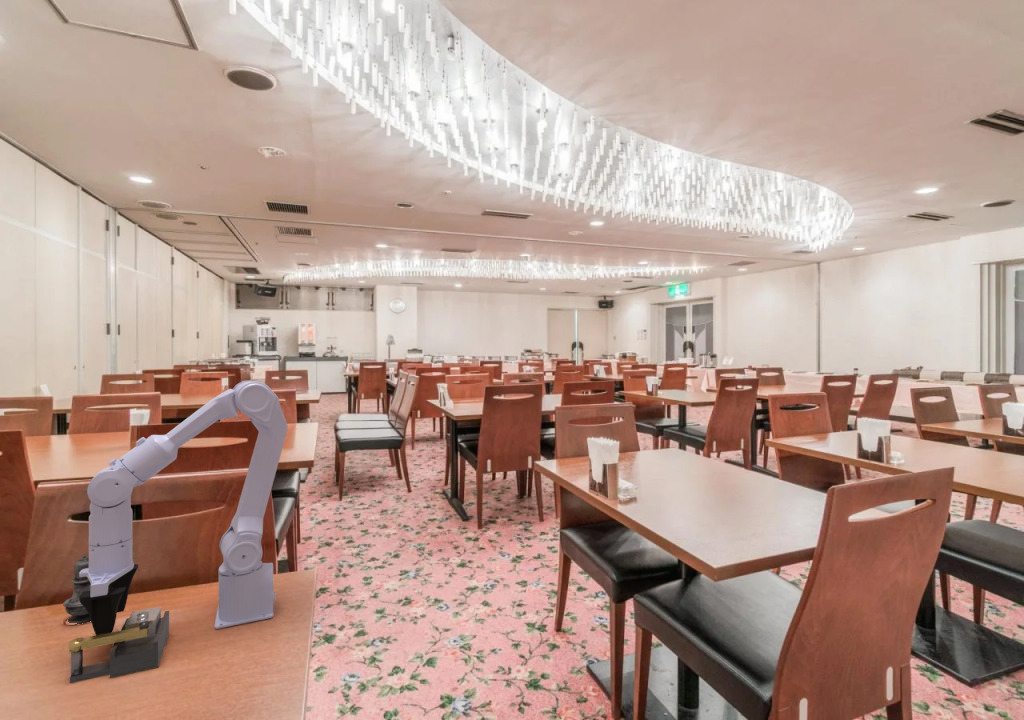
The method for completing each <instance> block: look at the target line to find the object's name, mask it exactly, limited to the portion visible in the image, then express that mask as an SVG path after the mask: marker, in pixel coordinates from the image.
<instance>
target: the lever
mask: <svg viewBox="0 0 1024 720" xmlns="http://www.w3.org/2000/svg"><path fill="white" fill-rule="evenodd" d="M148 633H149V621H143V622H141V623H140V624H139V627H137V628H132V629H127V630H122V631H121V630H117V631H112V632H111V633H106V634H101V635H96V634H95V635H90V636H86V637H77V638H73V639H72V640H70V641H69V642H68V652H69V653H71V652H76V651H79V650H82V649H83V650H86V649H91V648H96V647H101V646H106V645H107V646H108V645H113V644H114V643H117V642H122V641H127V640H132V639H137V638H142V637H147V636H148Z"/></svg>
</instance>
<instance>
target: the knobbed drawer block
mask: <svg viewBox="0 0 1024 720" xmlns="http://www.w3.org/2000/svg"><path fill="white" fill-rule="evenodd" d="M128 618H129V619H128V621H127V623H126V625H125V630H127V629H132V628H137V627H139V624H140V623H141V622H143V621H149V633H148V636H147V637H151V636H156V633H157V630H158V628H159V625H160V623H161V618H162V606H156V607H149V608H145V609H140V610H139V609H138V610H134V611H132V612H131V613H130V616H129V617H128ZM142 638H146V637H142ZM137 639H141V638H137ZM132 640H136V639H132ZM127 641H131V640H127ZM125 642H126V641H125Z"/></svg>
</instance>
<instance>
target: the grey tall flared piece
mask: <svg viewBox="0 0 1024 720" xmlns="http://www.w3.org/2000/svg"><path fill="white" fill-rule="evenodd" d="M73 567H74V570H73V571H74V574H73V577H74V578H73V579H72V580H71V583H72V584H73V592H72V595H71V597H70V598H68V599H66V600H65V601H64V602H63V603H62V606H63V607H64V609H65V611H66V613H67V614H68V615H70V616H69V619H68V618H67V619H68V622H69V623H77V624H82V623H86V622H89V623H91V622H90V621H91V619H90V616H89V614H88V612H87V610H86V609H85V607H84V606H83V605H82V604H81V603H80V600H79V596H80V595H81V593H82V592H84V591H90V589H91V583H90V581H89V579H88V577H79V573H80V571H81V570H83V569H86V568H89V557H88V555H86V554H85V553H83V554H82V555H81V559H78V560H77V561H76V562H75V563H74V566H73ZM86 624H87V623H86ZM82 625H83V624H82Z"/></svg>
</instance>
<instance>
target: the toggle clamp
mask: <svg viewBox="0 0 1024 720" xmlns="http://www.w3.org/2000/svg"><path fill="white" fill-rule="evenodd" d="M128 619H129V617H127V618H126V619H125V621H124V624H122V625H123V626H122V627H121V629H120V631H122V630H125V625H126V623H127V621H128ZM169 636H170V610H166V611H164V614H163V616H162V617H161V623H160V625H159V628H158V630H157V633H156V636H151V637H146V638H141V639H136V640H131V641H126V642H125V641H122V642H117V643H113V644H112V646H111V649H110V650H109V660H107V661H104V662H99V663H94V664H89V665H84V649H82V650H79V651H76V652H70V677H69V684H73V683H77V682H80V681H86V680H90V679H94V678H99V677H103V676H107V675H109V679H113V678H117V677H122V676H125V675H130V674H134V673H138V672H143V671H148V670H153V669H157V668H159V666H160V662H161V659H162V657H163V652H164V650H165V647H166V644H167V641H168V638H169Z"/></svg>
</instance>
